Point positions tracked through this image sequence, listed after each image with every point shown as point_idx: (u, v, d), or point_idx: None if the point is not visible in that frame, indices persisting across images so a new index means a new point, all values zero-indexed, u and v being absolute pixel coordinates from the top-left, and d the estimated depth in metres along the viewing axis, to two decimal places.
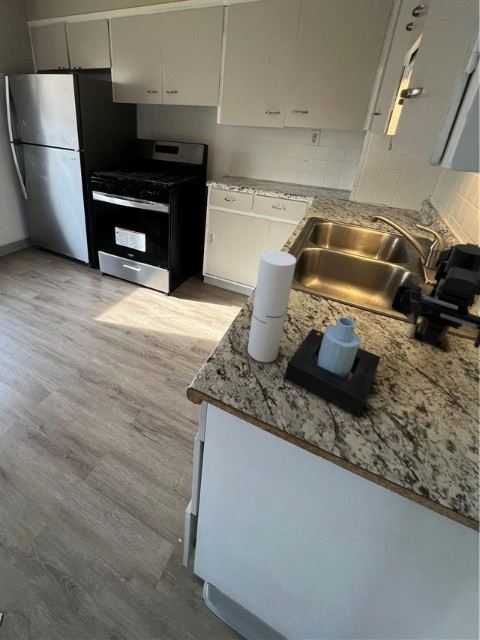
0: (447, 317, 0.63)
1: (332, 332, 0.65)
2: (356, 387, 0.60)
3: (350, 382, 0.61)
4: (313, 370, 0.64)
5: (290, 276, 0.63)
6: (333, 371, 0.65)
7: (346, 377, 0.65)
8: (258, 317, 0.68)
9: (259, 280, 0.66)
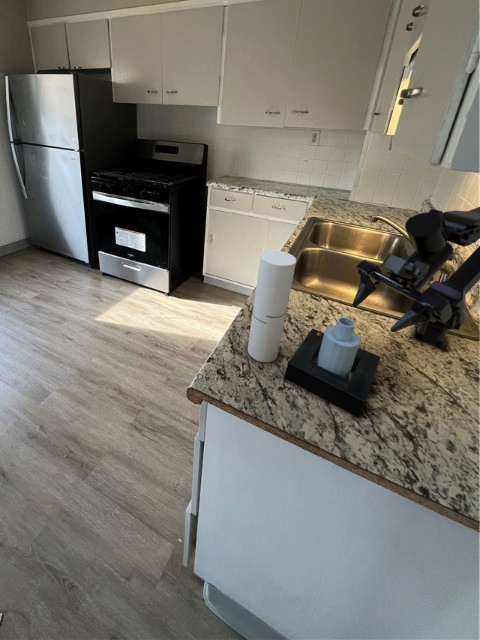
0: None
1: (332, 332, 0.65)
2: (356, 387, 0.60)
3: (350, 382, 0.61)
4: (313, 370, 0.64)
5: (290, 276, 0.63)
6: (333, 371, 0.65)
7: (346, 377, 0.65)
8: (258, 317, 0.68)
9: (259, 280, 0.66)
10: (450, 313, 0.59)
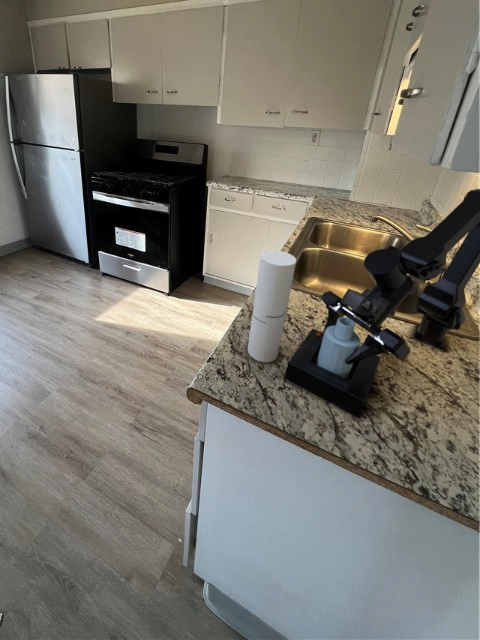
0: None
1: (332, 332, 0.65)
2: (356, 387, 0.60)
3: (350, 382, 0.61)
4: (313, 370, 0.64)
5: (290, 276, 0.63)
6: (333, 371, 0.64)
7: (346, 377, 0.65)
8: (258, 317, 0.68)
9: (259, 280, 0.66)
10: (408, 351, 0.58)
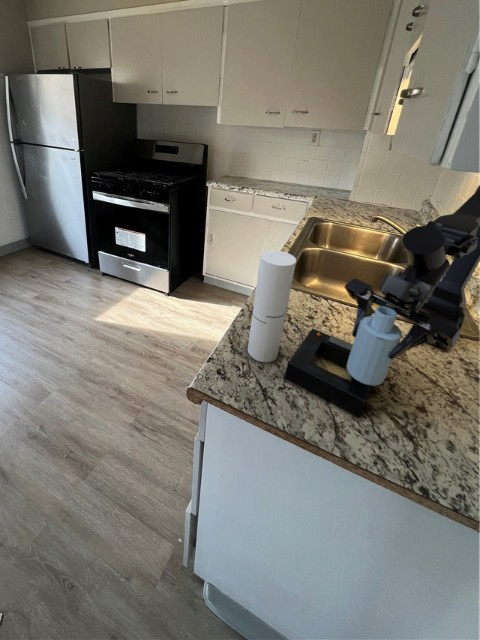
0: None
1: (369, 324, 0.57)
2: (356, 387, 0.60)
3: (350, 382, 0.61)
4: (313, 370, 0.64)
5: (290, 276, 0.63)
6: (374, 368, 0.57)
7: (386, 373, 0.58)
8: (258, 317, 0.68)
9: (259, 280, 0.66)
10: (458, 337, 0.52)
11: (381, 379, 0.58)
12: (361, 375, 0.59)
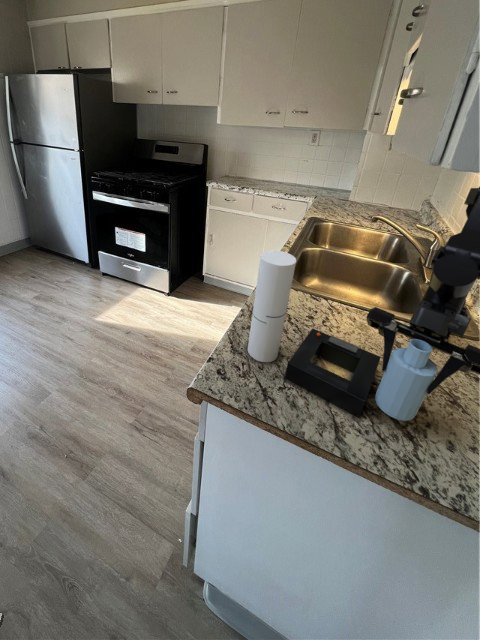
0: None
1: (402, 359, 0.55)
2: (356, 387, 0.60)
3: (350, 382, 0.61)
4: (313, 370, 0.64)
5: (290, 276, 0.63)
6: (411, 404, 0.54)
7: None
8: (258, 317, 0.68)
9: (259, 280, 0.66)
10: None
11: (415, 413, 0.56)
12: (396, 412, 0.56)
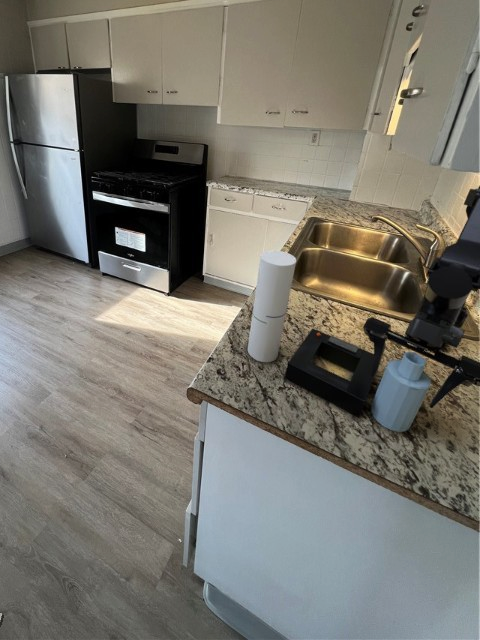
0: None
1: (396, 371, 0.56)
2: (356, 387, 0.60)
3: (350, 382, 0.61)
4: (313, 370, 0.64)
5: (290, 276, 0.63)
6: (405, 416, 0.55)
7: None
8: (258, 317, 0.68)
9: (259, 280, 0.66)
10: None
11: (410, 424, 0.57)
12: (391, 423, 0.57)
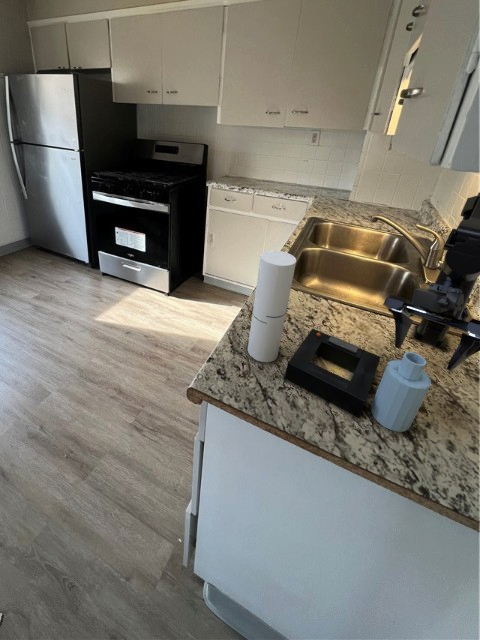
0: None
1: (396, 371, 0.56)
2: (356, 387, 0.60)
3: (350, 382, 0.61)
4: (313, 370, 0.64)
5: (290, 276, 0.63)
6: (405, 416, 0.55)
7: None
8: (258, 317, 0.68)
9: (259, 280, 0.66)
10: None
11: (410, 424, 0.57)
12: (391, 423, 0.57)
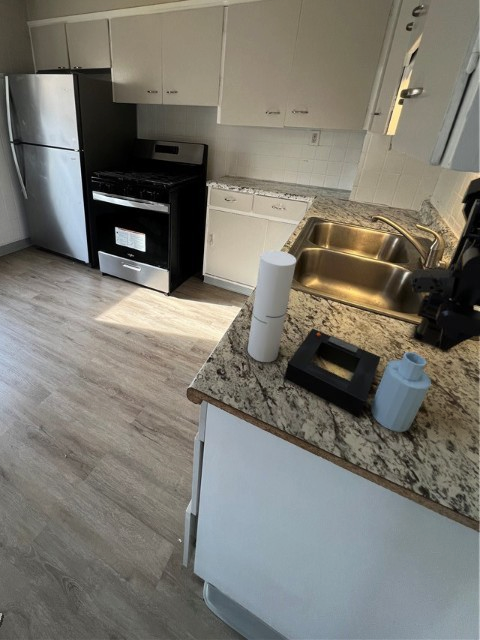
0: None
1: (396, 371, 0.56)
2: (356, 387, 0.60)
3: (350, 382, 0.61)
4: (313, 370, 0.64)
5: (290, 276, 0.63)
6: (405, 416, 0.55)
7: None
8: (258, 317, 0.68)
9: (259, 280, 0.66)
10: (472, 324, 0.50)
11: (410, 424, 0.57)
12: (391, 423, 0.57)
